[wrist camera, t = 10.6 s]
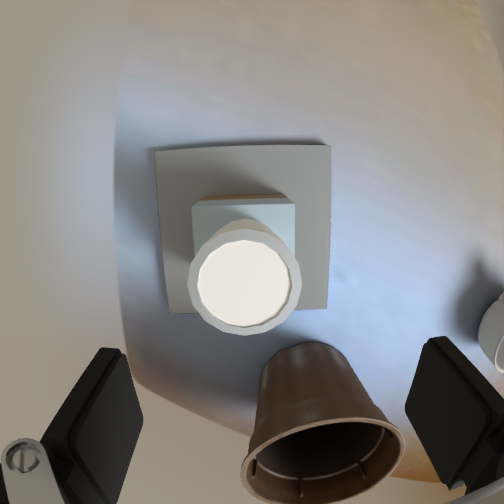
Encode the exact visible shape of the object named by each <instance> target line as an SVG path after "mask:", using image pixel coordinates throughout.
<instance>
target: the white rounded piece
mask: <svg viewBox="0 0 504 504" xmlns="http://www.w3.org/2000/svg"><path fill="white" fill-rule="evenodd" d="M187 287H188V290H189V294H190V297H191V301H192V304H193V306H194V307H195V309H196V310H197V311H198V312H199V314H200V315H201V316H202V317H203V319H204V320H205V321H206V322H207V323H209V324H211V325H213V326H214V327H216V328H218V329H219V330H221V331H223V332H226V333H232V334H238V335H243V336H246V335H252V334H258V333H264V332H267V331H269V330H270V329H272V328H274V327H275V326H277V325H279V324H281V323H282V322H284V321H285V320H286V318H287V317H288V316H289V315H290V313H291V312H292V311H293V309H294V308H295V307H296V306H297V303H298V299H299V295H300V292H301V288H302V280H301V274H300V268H299V264H298V262H297V260H296V259H295V257H294V256H293V254H292V253H291V251H290V250H289V248H288V247H287V245H286V244H285V243H284V242H283V241H282V240H281V239H280V238H279V237H278V236H277V235H276V234H275V233H274V232H273V231H272V230H271V229H270V228H269V227H267V226H266V225H264V224H263V223H261V222H260V221H256V220H251V219H246V218H245V219H240V220H235V221H231V222H229V223H228V224H226V225H225V226H223V227H222V228H220V229H219V230H218V231H217V232H216V233H215V234H214V235H213V236H212V237H211V238H210V239H209V240H208V241H207V242H206V243H204V244H203V245H202V247H201V248H200V250H199V251H198V253H197V254H196V256H195V258H194V259H193V261H192V262H191V264H190V269H189V276H188V283H187Z"/></svg>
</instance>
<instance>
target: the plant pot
mask: <svg viewBox="0 0 504 504" xmlns="http://www.w3.org/2000/svg"><path fill="white" fill-rule="evenodd" d="M404 450H405V440H404V437H403V435H402V434H401V432H400V430H399V429H398V428H397V427H396V426H395V425H393V424H392V423H390V422H389V421H388V420H387V418H386V417H385V415H384V414H383V412H382V411H381V410H380V409H379V408H378V407H377V406H376V405H375V404H374V403H373V401H372V400H371V398H370V396H369V395H368V393H367V392H366V390H365V388H364V387H363V385H362V383H361V382H360V380H359V379H358V377H357V375H356V374H355V372H354V371H353V369H352V367H351V366H350V364H349V362H348V360H347V359H346V357H345V356H344V355H343V354H342V353H341V352H340V351H339V350H337V349H336V348H334V347H332V346H329V345H326V344H322V343H316V342H306V343H301V344H299V345H298V346H295V347H291V348H285V349H283V350H281V351H280V352H278V353H277V354H275V355H274V356H273V357H272V358H271V359H270V360H269V361H268V363H267V364H266V365H265V367H264V369H263V371H262V373H261V377H260V385H259V394H258V403H257V411H256V419H255V427H254V433H253V435H252V437H251V439H250V443H249V449H248V455H247V456H246V458H245V459H244V461H243V464H242V467H241V481H242V484H243V485H244V487H245V488H246V490H247V491H248V492H249V493H250V494H251V495H253V496H254V497H256V498H257V499H260V500H262V501H264V502H266V503H269V504H336V503H339V502H342V501H345V500H349V499H351V498H354V497H356V496H359V495H361V494H363V493H365V492H367V491H369V490H370V489H372V488H374V487H375V486H377V485H378V484H379V483H381V482H382V481H383V480H384V479H385V478H387V477H388V476H389V475H390V474H391V473H392V472H393V471H394V469H395V468H396V467H397V465H398V464H399V462H400V461H401V459H402V456H403V453H404Z"/></svg>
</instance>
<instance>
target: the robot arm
mask: <svg viewBox="0 0 504 504" xmlns="http://www.w3.org/2000/svg"><path fill="white" fill-rule="evenodd" d="M405 413H406V415H407V417H408V419H409V420H410V422H411V424H412V426H413V428H414V430H415V432H416V434H417V435H418V437H419V439H420V441H421V443H422V445H423V447H424V449H425V451H426V453H427V455H428V457H429V459H430V461H431V463H432V464H433V466H434V468H435V470H436V472H437V474H438V476H439V479H440V481H441V482H442V483H443V484H446V485H447V487H448V489H449V491H450V490H453V489H455V488H458V487H460V486H462V485H463V484H464V483H465V485H466V487H467V489H466V492H465V495H464V496H462V497H460V498H457V499H455V500H452V501H450V502H447V503H445V504H504V399H503V398H502V396H501V395H500V394H499V393H498V392H497V391H496V390H495V388H494V387H493V386H492V385H491V384H490V383H489V382H488V380H487V379H486V378H485V377H484V376H483V375H482V374H481V373H480V372H479V370H478V369H477V368H476V367H475V366H474V365H473V364H472V363H471V362H470V361H469V360H468V359H467V357H466V356H465V355H464V354H463V353H462V352H461V351H460V350H459V349H458V348H457V347H456V346H455V345H454V344H453V343H452V342H451V341H450V340H449V339H448V338H447V337H446V336H440V337H434V338H430V339H429V340H428V341H427V343H425V344H424V345H423V348H422V352H421V355H420V359H419V362H418V366H417V369H416V373H415V376H414V379H413V382H412V385H411V388H410V391H409V394H408V397H407V400H406V403H405ZM142 425H143V415H142V411H141V408H140V405H139V401H138V398H137V394H136V391H135V387H134V384H133V380H132V376H131V373H130V369H129V365H128V361H127V357H126V355H125V354H121V351H120V350H119V349H116V348H104V347H103V348H100V349H99V351H98V352H97V354H96V355H95V356H94V358H93V360H92V361H91V362H90V364H89V365H88V367H87V368H86V370H85V371H84V373H83V374H82V376H81V377H80V379H79V380H78V382H77V383H76V384H75V386H74V388H73V389H72V391H71V392H70V394H69V395H68V397H67V398H66V400H65V401H64V403H63V405H62V406H61V408H60V409H59V411H58V413H57V414H56V415H55V417H54V419H53V420H52V422H51V423H50V425H49V427H48V428H47V430H46V432H45V433H44V435H43V437H42V439H41V440H40V442H38V441H36V440H33V439H29V438H22V439H17V440H15V441H13V442H11V443H10V444H8V445H7V446H6V448H5V449H4V450H3V452H2V455H1V464H0V504H116V503H117V501H118V498H119V495H120V492H121V489H122V486H123V482H124V479H125V476H126V473H127V470H128V467H129V464H130V461H131V458H132V455H133V452H134V449H135V446H136V443H137V440H138V437H139V434H140V431H141V429H142Z"/></svg>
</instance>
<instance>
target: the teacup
mask: <svg viewBox="0 0 504 504" xmlns="http://www.w3.org/2000/svg"><path fill="white" fill-rule="evenodd" d="M478 340H479V344H480V347H481V349H482V350H483V352H484V353H485V355H486V356H487V357H488V358H489V360H490V361H491V362H492V363H493V364H494V366H495V368H496V369H497V370H498V371H499V372H503V373H504V292H503V294H501V295H500V296H499V298H498V300H497V301H495V302H494V303H493V304H492V305H491V306H490V307H489V308H488V309H487V311H486V312H485V314H484V316H483V318H482V321H481V324H480V327H479V332H478Z"/></svg>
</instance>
